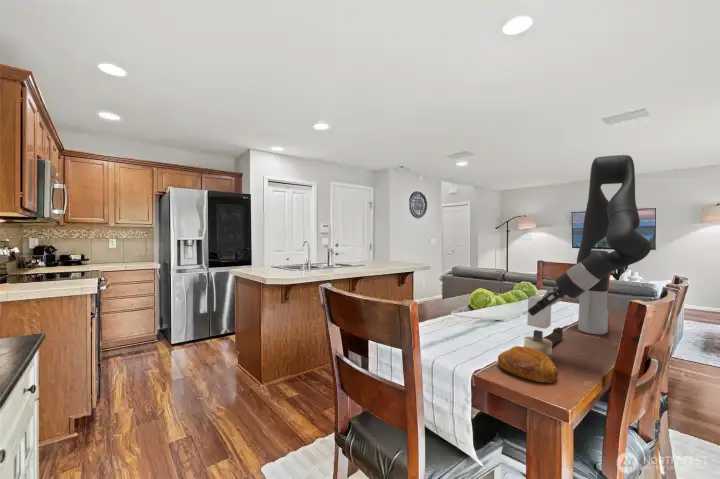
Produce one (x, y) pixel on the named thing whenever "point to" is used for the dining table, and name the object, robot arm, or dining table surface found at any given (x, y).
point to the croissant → (528, 364)
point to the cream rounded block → (539, 343)
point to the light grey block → (539, 314)
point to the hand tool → (555, 336)
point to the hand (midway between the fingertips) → (533, 311)
